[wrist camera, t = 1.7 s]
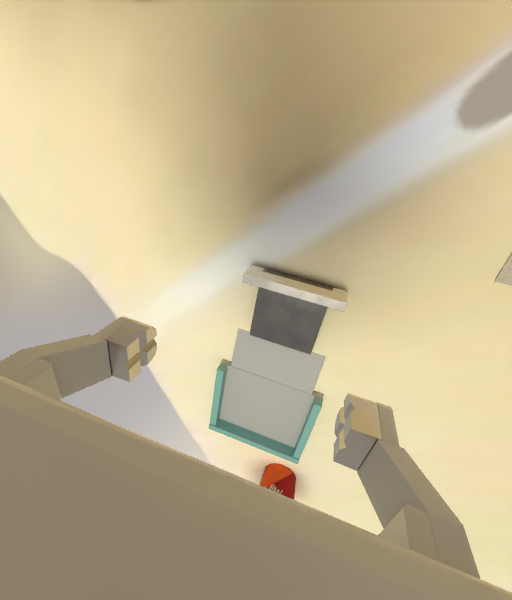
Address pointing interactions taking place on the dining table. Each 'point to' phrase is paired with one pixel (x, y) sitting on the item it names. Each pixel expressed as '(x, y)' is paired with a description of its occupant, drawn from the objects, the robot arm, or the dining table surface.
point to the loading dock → (267, 396)
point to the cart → (290, 308)
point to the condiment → (506, 273)
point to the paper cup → (279, 480)
